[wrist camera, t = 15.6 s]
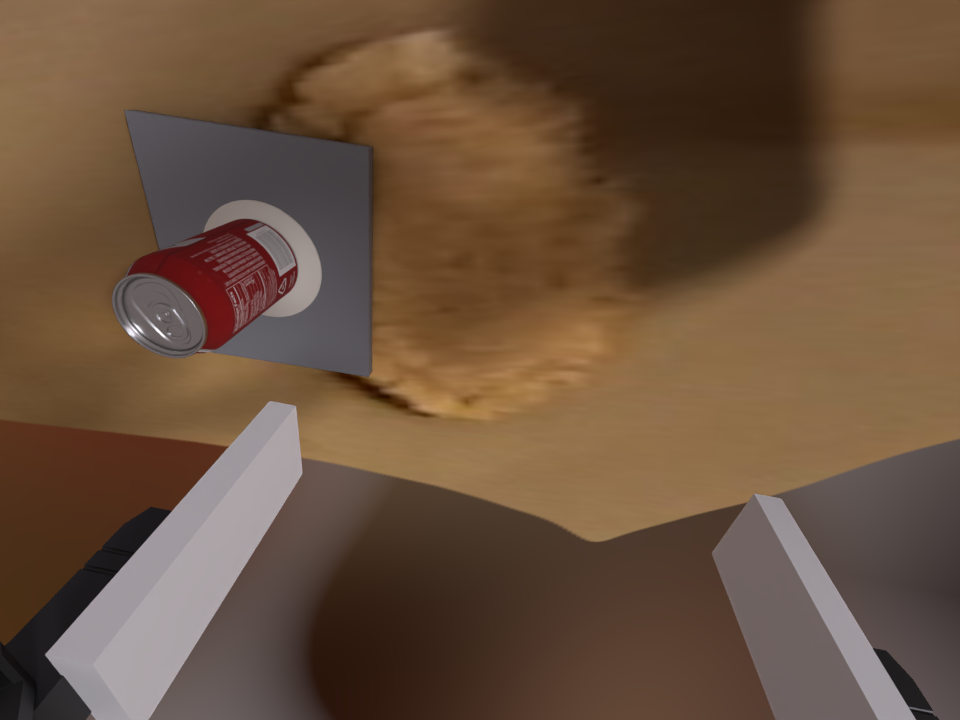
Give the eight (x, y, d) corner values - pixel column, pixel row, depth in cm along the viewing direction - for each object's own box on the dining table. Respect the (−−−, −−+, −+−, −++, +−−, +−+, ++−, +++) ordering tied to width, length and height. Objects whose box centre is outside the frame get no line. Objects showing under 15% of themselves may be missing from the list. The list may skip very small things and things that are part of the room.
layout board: (134, 109, 32) (121, 110, 31) (372, 146, 32) (367, 148, 31) (191, 342, 43) (182, 348, 42) (371, 371, 42) (368, 377, 41)
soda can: (277, 206, 34) (170, 250, 24) (316, 285, 37) (236, 355, 27) (205, 228, 35) (75, 279, 25) (249, 303, 38) (148, 375, 28)
